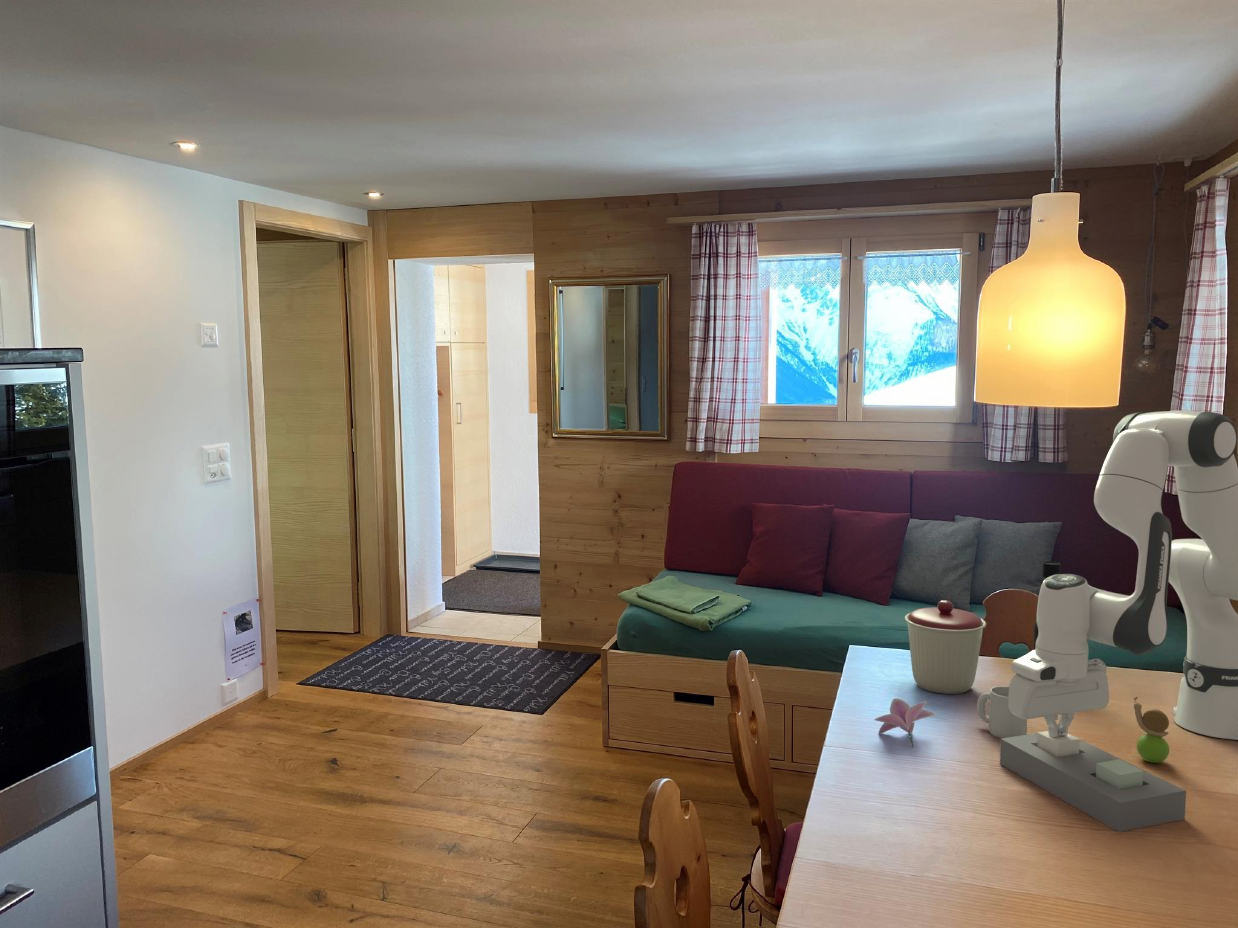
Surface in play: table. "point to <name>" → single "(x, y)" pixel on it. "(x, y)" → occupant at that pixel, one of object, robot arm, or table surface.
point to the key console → (1094, 785)
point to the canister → (944, 647)
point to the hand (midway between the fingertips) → (1057, 735)
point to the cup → (1000, 714)
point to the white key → (1058, 744)
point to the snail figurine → (1152, 734)
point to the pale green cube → (1119, 774)
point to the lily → (903, 716)
